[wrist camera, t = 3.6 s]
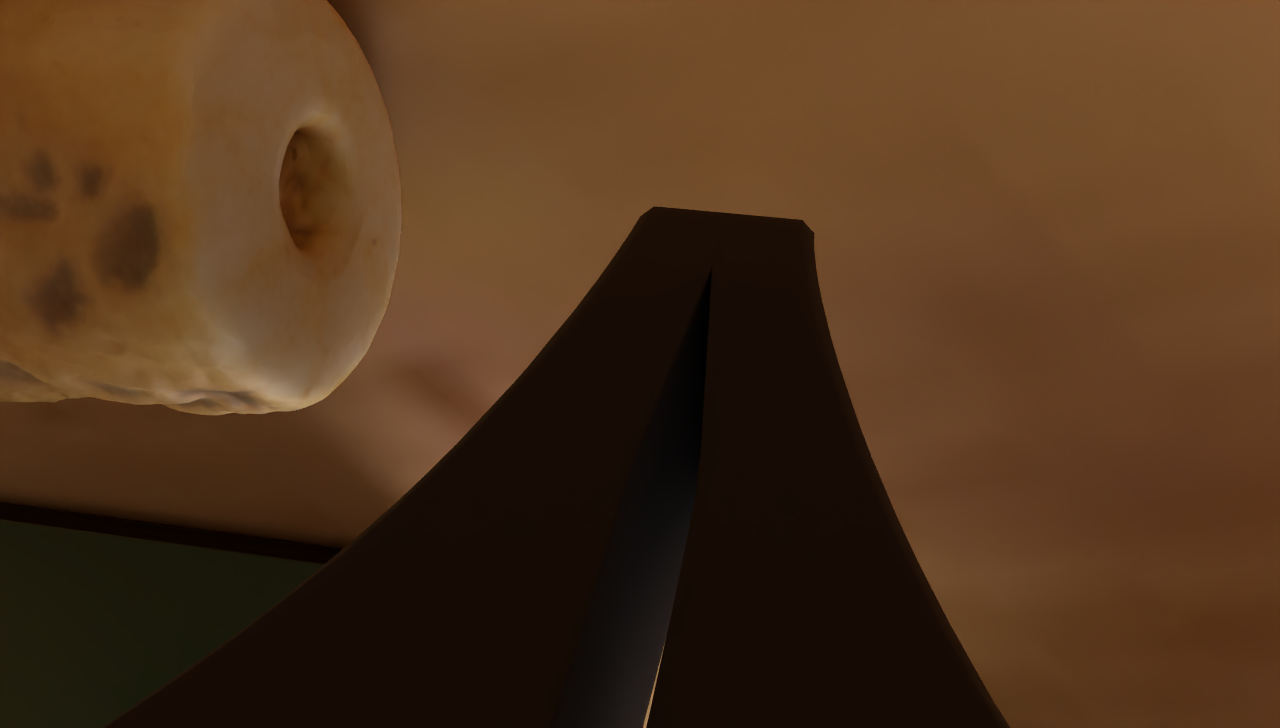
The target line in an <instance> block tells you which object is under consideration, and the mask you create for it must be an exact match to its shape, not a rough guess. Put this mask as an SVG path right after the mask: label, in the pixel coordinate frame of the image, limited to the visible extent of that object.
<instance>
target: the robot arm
mask: <svg viewBox="0 0 1280 728" xmlns="http://www.w3.org/2000/svg"><path fill="white" fill-rule="evenodd" d="M665 639H666V641H665ZM664 643H665V645H664ZM663 647H664V650H663ZM662 651H663V654H662ZM661 655H662V659H661ZM660 659H661V664H660V668H659V673H658V677H657V682H656V687H655V691H654V696H653V701H652V705H651V710H650V714H649V719H648V723H647V727H646V728H1010V726H1009V725H1008V723H1007V722H1006V720H1005V718H1004V717H1003V715H1002V714H1001V712H1000V710H999V709H998V707H997V706H996V704H995V703H994V701H993V699H992V698H991V696H990V694H989V693H988V691H987V689H986V687H985V686H984V684H983V682H982V680H981V679H980V677H979V675H978V673H977V671H976V670H975V668H974V666H973V664H972V663H971V661H970V659H969V657H968V655H967V654H966V652H965V650H964V648H963V646H962V645H961V643H960V641H959V639H958V637H957V636H956V634H955V632H954V630H953V629H952V627H951V625H950V623H949V621H948V619H947V617H946V615H945V614H944V612H943V610H942V608H941V606H940V604H939V602H938V600H937V598H936V596H935V594H934V592H933V590H932V588H931V586H930V584H929V583H928V581H927V579H926V577H925V575H924V573H923V571H922V569H921V567H920V565H919V563H918V561H917V559H916V556H915V554H914V552H913V550H912V548H911V546H910V544H909V542H908V540H907V538H906V535H905V533H904V531H903V529H902V527H901V524H900V522H899V520H898V518H897V516H896V513H895V511H894V509H893V507H892V504H891V502H890V500H889V497H888V495H887V492H886V490H885V488H884V485H883V483H882V481H881V478H880V476H879V473H878V471H877V469H876V466H875V464H874V462H873V459H872V457H871V454H870V451H869V449H868V446H867V444H866V441H865V438H864V436H863V433H862V431H861V428H860V425H859V423H858V420H857V417H856V414H855V411H854V408H853V405H852V402H851V399H850V396H849V393H848V390H847V387H846V384H845V381H844V378H843V375H842V372H841V369H840V366H839V363H838V360H837V356H836V353H835V350H834V346H833V343H832V339H831V336H830V332H829V328H828V323H827V319H826V315H825V311H824V307H823V303H822V298H821V293H820V288H819V283H818V277H817V271H816V262H815V252H814V232H813V231H812V230H811V229H810V228H809V227H808V226H807V225H806V224H805V222H804V221H803V220H797V219H786V218H775V217H764V216H753V215H742V214H731V213H720V212H710V211H699V210H688V209H677V208H666V207H655V206H654V207H652V208H651V209H650V210H648V211H647V212H646V213H644V214H643V215H642V216H640V218H639V219H638V221H637V223H636V224H635V226H634V227H633V229H632V231H631V232H630V234H629V235H628V237H627V238H626V240H625V241H624V243H623V244H622V246H621V247H620V249H619V250H618V252H617V253H616V255H615V256H614V258H613V259H612V260H611V262H610V263H609V265H608V266H607V267H606V269H605V270H604V272H603V273H602V274H601V276H600V277H599V278H598V280H597V281H596V282H595V284H594V285H593V286H592V288H591V289H590V290H589V292H588V293H587V294H586V296H585V297H584V298H583V300H582V301H581V302H580V304H579V305H578V306H577V308H576V309H575V310H574V311H573V313H572V314H571V315H570V316H569V317H568V319H567V320H566V321H565V322H564V324H563V325H562V326H561V327H560V328H559V330H558V331H557V332H556V333H555V334H554V336H553V337H552V338H551V339H550V341H549V342H548V343H547V344H546V345H545V347H544V348H543V349H542V350H541V351H540V353H539V354H538V355H537V356H536V358H535V359H534V360H533V361H532V362H531V364H530V365H529V366H528V367H527V368H526V370H525V371H524V372H523V373H522V374H521V375H520V376H519V378H518V379H517V380H516V381H515V382H514V383H513V384H512V385H511V386H510V387H509V389H508V390H507V391H506V392H505V393H504V394H503V395H502V396H501V397H500V398H499V399H498V400H497V401H496V402H495V404H494V405H493V406H492V407H491V408H490V409H489V410H488V411H487V412H486V413H485V414H484V415H483V416H482V417H481V419H480V420H479V421H478V422H477V423H476V424H475V425H474V426H473V427H472V428H471V429H470V430H469V431H468V432H467V434H466V435H465V436H464V437H463V438H462V439H461V440H460V441H459V442H458V443H457V444H456V445H455V446H454V447H453V448H452V449H451V450H450V451H449V452H448V453H447V454H446V455H445V456H444V457H443V458H442V459H441V460H440V461H439V462H438V463H437V464H436V465H435V466H434V467H433V468H432V469H431V470H430V471H429V472H428V473H427V474H426V475H425V476H424V477H423V478H422V479H421V480H420V481H419V482H417V483H416V484H415V485H414V486H413V487H412V488H411V489H410V490H409V491H408V492H407V493H406V494H405V495H404V496H403V497H402V498H400V499H399V500H398V501H397V502H396V503H395V504H394V505H393V506H392V507H390V508H389V509H388V510H387V511H386V512H385V513H384V514H383V515H382V516H380V517H379V518H378V519H377V520H376V521H375V522H374V523H373V524H371V525H370V526H369V527H368V528H367V529H366V530H365V531H364V532H363V533H361V534H360V535H359V536H358V537H357V538H356V539H354V540H353V541H352V542H351V543H350V544H348V545H347V546H346V547H345V548H344V549H342V550H341V551H340V552H339V553H337V554H336V555H335V556H334V557H333V558H331V559H330V560H329V561H328V562H327V563H325V564H324V565H323V566H322V567H320V568H319V569H318V570H317V571H316V572H314V573H313V574H312V575H311V576H309V577H308V578H307V579H306V580H305V581H303V582H302V583H301V584H300V585H298V586H297V587H296V588H295V589H294V590H292V591H291V592H290V593H289V594H287V595H286V596H285V597H284V598H283V599H281V600H280V601H279V602H277V603H276V604H275V605H273V606H272V607H271V608H270V609H268V610H267V611H266V612H264V613H263V614H262V615H260V616H259V617H258V618H257V619H255V620H254V621H253V622H251V623H250V624H249V625H247V626H246V627H245V628H243V629H242V630H241V631H239V632H238V633H237V634H235V635H234V636H233V637H231V638H230V639H229V640H227V641H226V642H224V643H223V644H221V645H220V646H219V647H217V648H216V649H214V650H213V651H211V652H210V653H209V654H207V655H206V656H204V657H203V658H201V659H200V660H198V661H197V662H196V663H194V664H193V665H191V666H190V667H188V668H187V669H186V670H184V671H183V672H181V673H180V674H178V675H177V676H175V677H174V678H173V679H171V680H170V681H168V682H167V683H165V684H164V685H163V686H161V687H160V688H158V689H157V690H155V691H154V692H152V693H151V694H150V695H148V696H147V697H145V698H144V699H142V700H141V701H140V702H138V703H137V704H135V705H134V706H132V707H131V708H130V709H128V710H127V711H125V712H124V713H122V714H121V715H119V716H118V717H117V718H115V719H114V720H112V721H111V722H109V723H108V724H107V725H105V726H103V727H102V728H643V725H644V720H645V716H646V712H647V708H648V705H649V701H650V697H651V693H652V689H653V685H654V682H655V678H656V674H657V670H658V666H659V662H660Z"/></svg>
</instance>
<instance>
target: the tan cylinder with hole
mask: <svg viewBox="0 0 1280 728" xmlns="http://www.w3.org/2000/svg"><path fill="white" fill-rule="evenodd" d="M401 230H402V202H401V186H400V177H399V164H398V160H397V156H396V151H395V146H394V140H393V133H392V128H391V124H390V119H389V116H388V113H387V109H386V106H385V103H384V100H383V98H382V95H381V92H380V89H379V86H378V84H377V81H376V79H375V76H374V73H373V71H372V69H371V67H370V65H369V63H368V61H367V59H366V58H365V56H364V54H363V52H362V50H361V47H360V45H359V43H358V42H357V40H356V39H355V37H354V36H353V35H352V33H351V32H350V30H349V28H348V27H347V25H346V24H345V22H344V21H343V19H342V18H341V17H340V15H339V14H338V13H337V11H336V10H335V9H334V8H333V7H332V5H331V4H330V3H329V2H328V1H327V0H0V401H6V402H9V401H10V402H44V401H47V402H57V401H59V400H63V399H67V398H72V399H74V398H83V397H91V396H92V397H94V398H98V399H103V400H109V401H115V402H123V403H130V404H138V405H143V404H146V405H151V404H163V405H165V406H167V407H169V408H171V409H174V410H178V411H182V412H187V413H193V414H202V415H223V414H228V413H233V412H236V413H239V414H247V413H252V414H266V413H269V412H275V411H294V410H299V409H302V408H305V407H308V406H310V405H313V404H315V403H317V402H319V401H321V400H323V399H325V398H326V397H327V396H328V395H329V394H330V393H331V392H332V391H333V390H335V389H336V388H337V387H338V386H339V385H340V384H341V383H342V382H343V381H344V380H345V379H346V378H347V377H348V375H349V374H350V373H351V372H352V371H353V370H354V368H355V367H356V366H357V365H358V364H359V362H360V361H361V360H362V358H363V357H364V356H365V354H366V352H367V351H368V349H369V347H370V345H371V343H372V341H373V338H374V336H375V334H376V332H377V329H378V327H379V325H380V323H381V321H382V319H383V317H384V314H385V312H386V309H387V306H388V303H389V300H390V295H391V289H392V285H393V281H394V276H395V271H396V266H397V262H398V258H399V251H400V236H401Z"/></svg>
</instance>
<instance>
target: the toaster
mask: <svg viewBox="0 0 1280 728" xmlns="http://www.w3.org/2000/svg"><path fill="white" fill-rule="evenodd" d="M341 550H342V549H335V548H328V547H321V546H313V545H306V544H299V543H291V542H284V541H276V540H269V539H262V538H254V537H247V536H240V535H232V534H225V533H218V532H210V531H203V530H196V529H188V528H181V527H173V526H166V525H159V524H151V523H144V522H137V521H129V520H122V519H115V518H107V517H100V516H93V515H85V514H78V513H70V512H63V511H56V510H48V509H41V508H34V507H26V506H19V505H12V504H4V503H0V728H102V727H103V726H105V725H107V724H108V723H109V722H111V721H112V720H114V719H115V718H117V717H118V716H119V715H121V714H122V713H124V712H125V711H127V710H128V709H130V708H131V707H132V706H134V705H135V704H137V703H138V702H140V701H141V700H142V699H144V698H145V697H147V696H148V695H150V694H151V693H152V692H154V691H155V690H157V689H158V688H160V687H161V686H163V685H164V684H165V683H167V682H168V681H170V680H171V679H173V678H174V677H175V676H177V675H178V674H180V673H181V672H183V671H184V670H186V669H187V668H188V667H190V666H191V665H193V664H194V663H196V662H197V661H198V660H200V659H201V658H203V657H204V656H206V655H207V654H209V653H210V652H211V651H213V650H214V649H216V648H217V647H219V646H220V645H221V644H223V643H224V642H226V641H227V640H229V639H230V638H231V637H233V636H234V635H235V634H237V633H238V632H239V631H241V630H242V629H243V628H245V627H246V626H247V625H249V624H250V623H251V622H253V621H254V620H255V619H257V618H258V617H259V616H260V615H262V614H263V613H264V612H266V611H267V610H268V609H270V608H271V607H272V606H273V605H275V604H276V603H277V602H279V601H280V600H281V599H283V598H284V597H285V596H286V595H287V594H289V593H290V592H291V591H292V590H294V589H295V588H296V587H297V586H298V585H300V584H301V583H302V582H303V581H305V580H306V579H307V578H308V577H309V576H311V575H312V574H313V573H314V572H316V571H317V570H318V569H319V568H320V567H322V566H323V565H324V564H325V563H327V562H328V561H329V560H330V559H331V558H333V557H334V556H335V555H336V554H337V553H339V552H340V551H341Z"/></svg>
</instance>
